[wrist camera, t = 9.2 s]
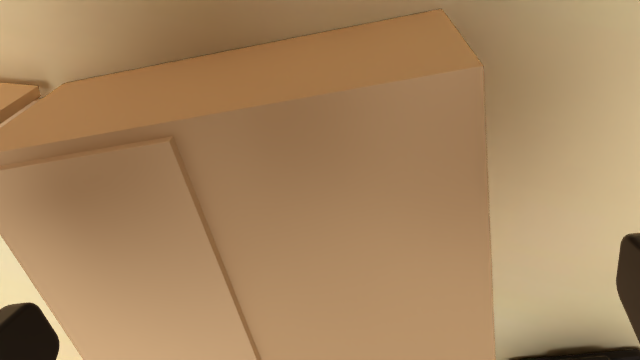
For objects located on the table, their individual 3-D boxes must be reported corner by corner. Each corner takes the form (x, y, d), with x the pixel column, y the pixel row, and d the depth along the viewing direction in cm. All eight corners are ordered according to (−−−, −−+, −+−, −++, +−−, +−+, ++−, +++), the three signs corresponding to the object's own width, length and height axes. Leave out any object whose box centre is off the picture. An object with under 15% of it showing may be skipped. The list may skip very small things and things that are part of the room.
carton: (472, 390, 26) (503, 520, 21) (150, 417, 29) (105, 538, 24) (441, 8, 16) (485, 70, 11) (-43, 104, 19) (-195, 190, 14)
